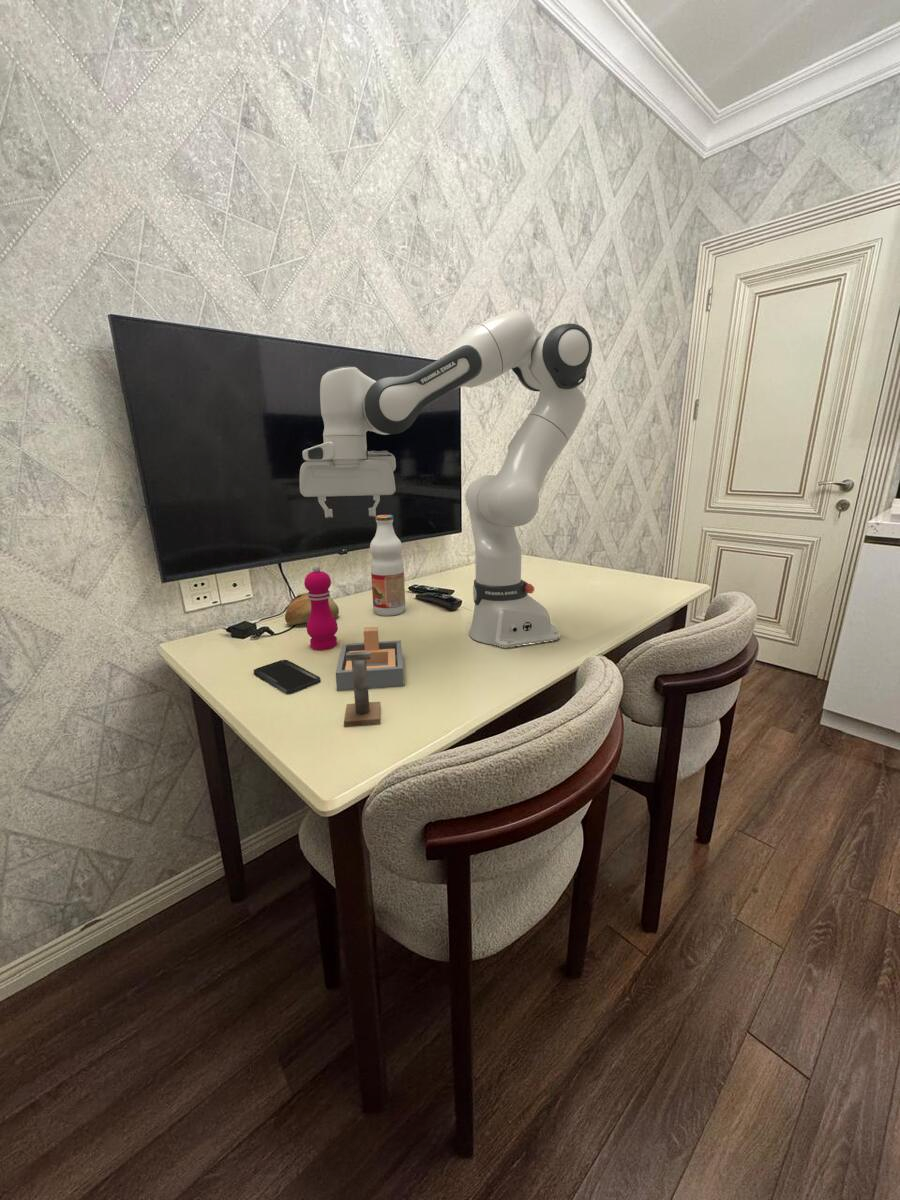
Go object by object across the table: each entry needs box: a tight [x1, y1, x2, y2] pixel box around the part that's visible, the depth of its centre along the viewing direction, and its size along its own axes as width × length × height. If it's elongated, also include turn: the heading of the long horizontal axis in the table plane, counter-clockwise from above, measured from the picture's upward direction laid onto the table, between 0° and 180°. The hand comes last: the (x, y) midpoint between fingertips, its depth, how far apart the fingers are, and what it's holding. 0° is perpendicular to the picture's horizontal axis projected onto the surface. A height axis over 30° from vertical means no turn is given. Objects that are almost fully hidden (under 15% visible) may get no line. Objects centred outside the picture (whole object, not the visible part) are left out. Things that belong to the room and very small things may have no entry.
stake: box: [343, 651, 381, 728], centre depth 82 cm, size 6×6×12 cm
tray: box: [335, 639, 405, 692], centre depth 100 cm, size 13×15×4 cm
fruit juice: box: [369, 514, 406, 617], centre depth 136 cm, size 9×9×28 cm
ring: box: [345, 626, 396, 670], centre depth 100 cm, size 10×12×7 cm
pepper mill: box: [304, 564, 339, 651], centre depth 113 cm, size 7×7×20 cm
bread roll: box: [284, 592, 340, 626], centre depth 132 cm, size 10×15×8 cm, turn 125°
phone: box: [253, 659, 322, 695], centre depth 99 cm, size 8×1×15 cm
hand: (350, 516), depth 105 cm, fingers open, 8 cm apart
